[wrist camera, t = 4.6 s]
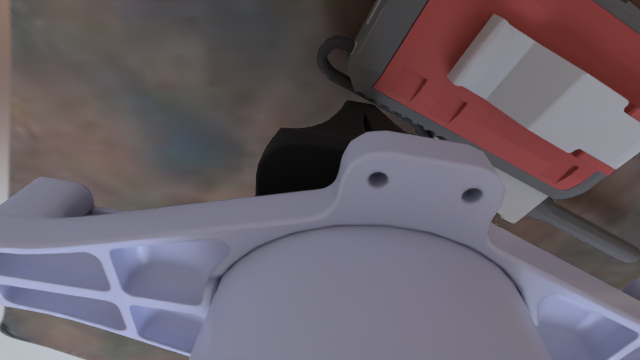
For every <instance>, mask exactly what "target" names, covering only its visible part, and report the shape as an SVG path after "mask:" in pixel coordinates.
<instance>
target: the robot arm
mask: <svg viewBox="0 0 640 360" xmlns="http://www.w3.org/2000/svg"><path fill="white" fill-rule="evenodd" d="M505 191H506V188H505V187H504V185H503V183H502V181H501V179H500V177H499V175H498V173H497V172H496V170H495V169H494V167H493V166H492V164H491V163H490V161H489V160H488V158H487V157H486V155H485V154H484V152H483V151H481V150H478V149H476V148H474V147H472V146H470V145H468V144H462V143H457V142H451V141H445V140H439V139H433V138H427V137H422V136H416V135H410V134H408V133H406V132H405V131H403V130H402V129H401V128H399V127H398V126H397V125H395V124H394V123H393V122H392V121H391V120H390V119H389V118H388V117H386V116H385V115H384V114H383V113H382V112H381V111H380V110H379V109H378V108H377V107H376V106H375V105H372V104H367V103H361V102H355V101H349V100H348V101H346V102H345V103H344V106H343V107H342V108H341V109H340V110H339V111H338V113H337V114H335V115H334V116H333V117H332V118H330V119H329V120H328V121H326V122H324V123H322V124H318V125H315V126H312V127H307V128H280V129H279V131H278V132H277V133H276V134H275V136H274V137H273V138H272V140H271V141H270V142H269V144H268V145H267V147H266V149H265V150H264V152H263V155H262V157H261V159H260V161H259V164H258V168H257V173H256V195H255V197H247V198H239V199H230V200H222V201H213V202H205V203H196V204H188V205H179V206H171V207H162V208H154V209H145V210H137V211H128V212H126V211H120V210H114V209H108V208H102V207H95V205H94V200H93V197H92V194H91V192H90V191H89V189H88V188H86V187H85V186H84V185H82V184H79V183H76V182H71V181H65V180H59V179H52V178H46V177H38V178H37V179H36V180H34V181H33V182H31V183H30V184H29V185H27V186H26V187H25V188H23V189H22V190H20V191H19V192H18V193H16V194H15V195H13V196H12V197H11V198H9V199H8V200H7V201H5V202H4V203H2V204H1V205H0V303H1V304H2V305H3V306H8V307H14V308H20V309H25V310H30V311H36V312H41V313H45V314H50V315H54V316H58V317H62V318H66V319H71V320H74V321H77V322H81V323H84V324H88V325H91V326H95V327H98V328H101V329H105V330H108V331H111V332H114V333H117V334H120V335H124V336H127V337H130V338H133V339H136V340H139V341H142V342H146V343H149V344H152V345H155V346H158V347H161V348H165V349H168V350H171V351H174V352H177V353H180V354H183V355H187V356H190V357H189V360H640V277H639V278H635V279H634V280H632V281H630V282H629V283H628V284H627V285H626V286H625V287H624V288H623V289H622V291H620V290H618V289H616V288H614V287H612V286H611V285H609V284H607V283H605V282H603V281H601V280H599V279H597V278H595V277H593V276H592V275H590V274H588V273H586V272H584V271H582V270H580V269H578V268H576V267H574V266H573V265H571V264H569V263H567V262H565V261H563V260H561V259H559V258H557V257H555V256H554V255H552V254H550V253H548V252H546V251H544V250H542V249H540V248H538V247H536V246H535V245H533V244H531V243H529V242H527V241H525V240H523V239H521V238H519V237H517V236H516V235H514V234H512V233H510V232H508V231H506V230H504V229H502V228H500V227H498V226H497V225H495V224H493V223H491V221H492V219H493V218H494V216H495V215H496V213H497V212H498V210H499V208H500V207H501V205H502V202H503V198H504V194H505Z"/></svg>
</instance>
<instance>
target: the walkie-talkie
mask: <svg viewBox="0 0 640 360" xmlns="http://www.w3.org/2000/svg"><path fill="white" fill-rule="evenodd" d="M335 48H339V49H343V50H346V51H348V68H347V70H348V73H349V76H350V77H349V76H347V75H345V74H344V73H342V72H340V71H338V70H337V69H335V68H334V67H333V66H332V65H331V64H330V62H329V61H328V59H327V55H328V54H329V53H330V52H331V50H333V49H335ZM317 62H318V66H319V68H320V70H321V71H322V72H323V73H324V74H325V75H326V76H327V77H328V78H329V79H330V80H331V81H333V82H335V83H337V84H339V85H340V86H342V87H344V88H346V89H348V90H350V91H352V92H353V93H355V94H357V95H359V96H361V97H363V98H364V99H366V100H368V101H370V102H372V103H374V104H376V105H377V106H379V107H381V108H383V109H385V110H387V111H389V112H390V113H392V114H394V115H396V116H398V117H400V118H401V119H403V120H405V121H407V122H408V123H410V124H411V125H412V126H413V127H414V128H415V129H416V131H417V133H418V135H419V136H422V137H427V138H433V139H439V140H445V141H451V142H457V143H462V144H468V145H470V146H472V147H474V148H476V149H478V150H481V151H483V152H484V154H485V155H486V157H487V158H488V160H489V161H490V163H491V164H492V166H493V167H494V169H495V170H496V172H497V173H498V175H499V177H500V179H501V181H502V183H503V185H504V187H505V188H506V191H505V194H504V198H503V202H502V205H501V207H500V208H499V210H498V212H497V213H499V215H500V217H501V218H503V219H505V220H507V221H509V222H511V223H516V222H517V221H519V220H520V219H521V218H522V217H523V216H525V215H527V216H529V217H531V218H533V219H536V220H540V219H541V220H543V221H545V222H547V223H549V224H551V225H553V226H555V227H557V228H559V229H561V230H563V231H564V232H566V233H568V234H570V235H572V236H574V237H576V238H578V239H580V240H582V241H584V242H586V243H588V244H590V245H592V246H593V247H595V248H597V249H599V250H601V251H603V252H605V253H607V254H609V255H611V256H613V257H615V258H617V259H619V260H621V261H622V262H626V263H633V262H636V261H637V260H638V259H639V258H640V251H639V249H638V248H637V247H635V246H634V245H632V244H630V243H628V242H626V241H624V240H623V239H621V238H619V237H617V236H615V235H613V234H611V233H610V232H608V231H606V230H604V229H602V228H600V227H598V226H597V225H595V224H593V223H591V222H589V221H587V220H585V219H584V218H582V217H580V216H578V215H576V214H574V213H573V212H571V211H569V210H567V209H565V208H563V207H561V206H560V205H558V204H556V203H554V202H553V200H552V199H551V198H553V199H568V198H571V197H574V196H577V195H580V194H582V193H584V192H586V191H588V190H589V189H590V188H592V187H593V186H594V185H596V184H597V183H598V182H600V181H601V180H602V179H603V178H605V177H606V176H608V175H610V174H611V173H612V172H614V171H615V170H616V169H618V168H619V167H620V166H622V165H623V164H624V163H625V162H627V161H628V160H629V159H631V158H632V157H633V156H635V155H636V154H637V153H639V152H640V8H637V7H636V6H635V5H633V4H632V3H631V2H629V1H625V0H376V1H375V3H374V5H373V7H372V9H371V11H370V12H369V14H368V16H367V18H366V20H365V22H364V24H363V25H362V27H361V29H360V31H359V33H358V35H357V36H356V38H355V40H354V41H353V40H351V39H349V38H347V37H343V36H338V35H336V36H333V37H330V38H328V39H327V40H326V41H325V42H324V44H323V45H322V46H321V47H320V48H319V51H318V56H317ZM550 197H551V198H550Z"/></svg>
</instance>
